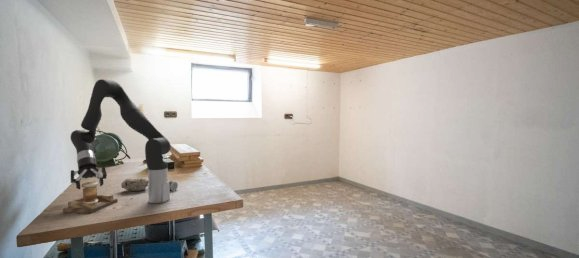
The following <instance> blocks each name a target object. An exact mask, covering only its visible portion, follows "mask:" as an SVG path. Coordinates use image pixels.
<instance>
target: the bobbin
mask: <svg viewBox="0 0 579 258" xmlns="http://www.w3.org/2000/svg"><path fill="white" fill-rule="evenodd" d="M98 185H99V183H98V181H88V182H83V183H81V188H82V197H83V200H85V201H83V202H95V204H97V203H98V199H96V198H97V195H98V187H97V186H98Z"/></svg>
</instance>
